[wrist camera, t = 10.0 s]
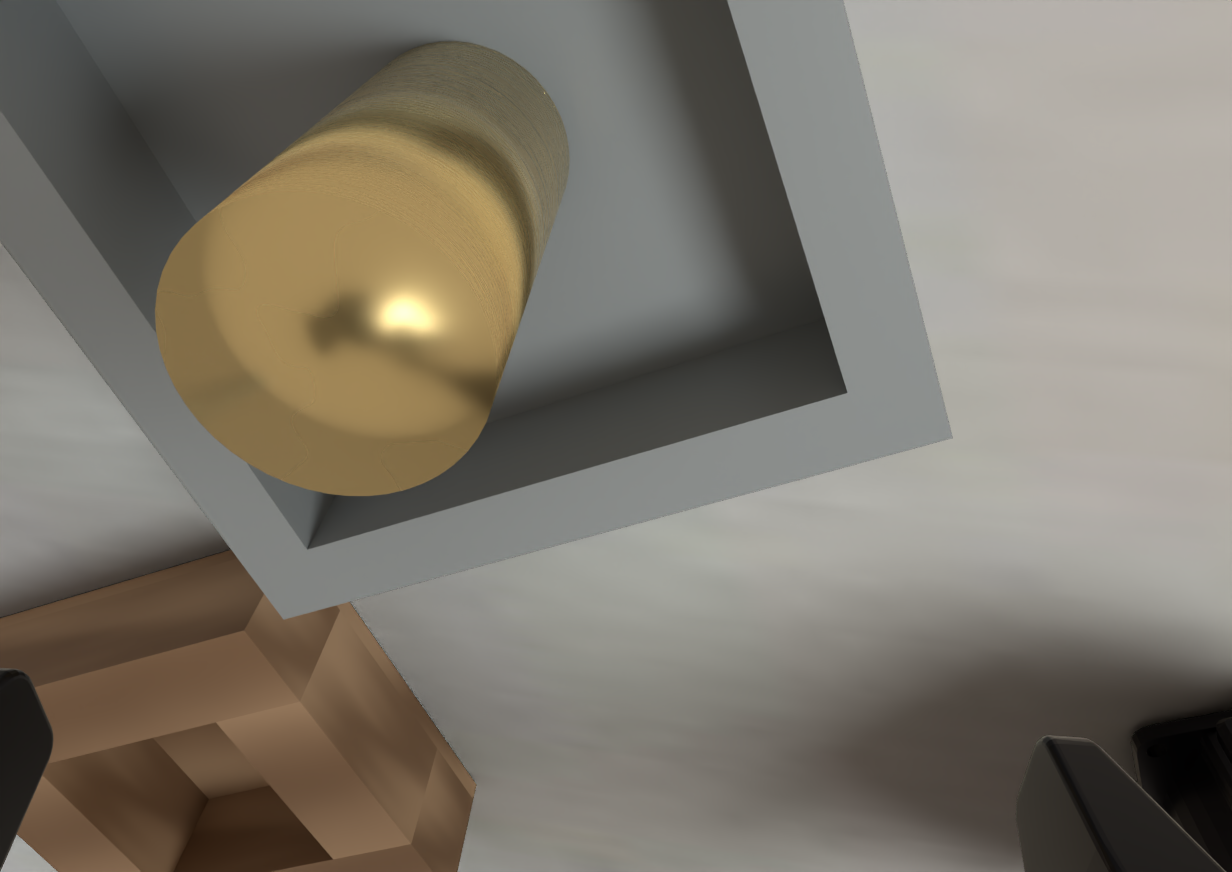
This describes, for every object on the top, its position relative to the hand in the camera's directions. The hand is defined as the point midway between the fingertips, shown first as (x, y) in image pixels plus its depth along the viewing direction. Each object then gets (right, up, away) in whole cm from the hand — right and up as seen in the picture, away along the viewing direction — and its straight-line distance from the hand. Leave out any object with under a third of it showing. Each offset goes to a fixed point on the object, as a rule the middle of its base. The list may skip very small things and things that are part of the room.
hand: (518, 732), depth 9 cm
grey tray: (-2, +8, +10) cm, 13 cm away
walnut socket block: (-10, -5, +19) cm, 22 cm away
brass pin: (-2, +8, +9) cm, 12 cm away
